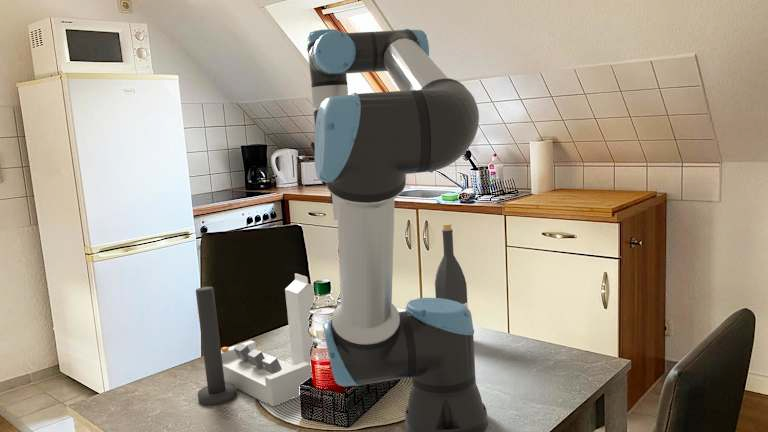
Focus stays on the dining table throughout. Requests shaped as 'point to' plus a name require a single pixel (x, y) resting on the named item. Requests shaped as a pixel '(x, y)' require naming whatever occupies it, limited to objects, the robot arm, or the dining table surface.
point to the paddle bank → (257, 358)
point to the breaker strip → (263, 377)
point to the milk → (299, 318)
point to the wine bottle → (450, 272)
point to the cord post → (212, 352)
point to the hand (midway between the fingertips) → (341, 219)
